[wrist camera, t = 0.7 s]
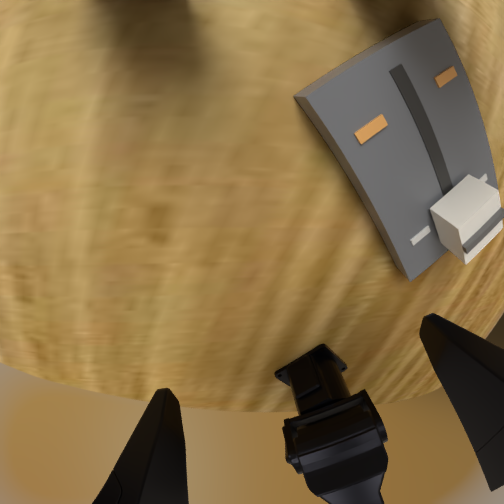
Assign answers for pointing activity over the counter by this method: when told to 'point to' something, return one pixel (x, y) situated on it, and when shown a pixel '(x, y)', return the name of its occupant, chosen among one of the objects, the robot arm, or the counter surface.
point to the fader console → (403, 134)
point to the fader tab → (468, 217)
